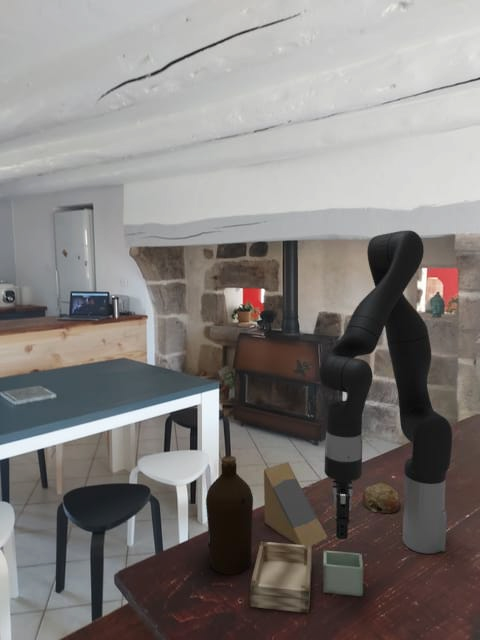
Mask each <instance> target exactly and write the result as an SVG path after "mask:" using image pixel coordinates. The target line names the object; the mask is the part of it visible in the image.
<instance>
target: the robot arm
mask: <svg viewBox="0 0 480 640" xmlns="http://www.w3.org/2000/svg"><path fill="white" fill-rule="evenodd" d="M424 248H425V247H424V243H423V240H422V237H421V236H420V235H419V234H418V233H417V232H415V231H413V230H407V229H406V230H399V231H394V232H388V233H383V234H380V235H379V234H378V235H376V236H373V237H372V238H371V239H370V240H369V242H368V245H367V262H368V267H369V271H370V272H371V276H372V280H373V283H374V288H373V289H372V290H371V291H370V292H369V293H367V295H366V296H365V297H364V298H363V299H362V300H361V301H360V302H359V303H358V305H357V306H356V307H355V309H354V310H353V313H352V315H351V317H350V319H349V321H348V323H347V326H346V328H345V330H344V332H343V334H342V336H341V337H340V338H339V339H338V340H337V341H336V343H335V344H334V345H333V347H331V348H330V350H329V351H328V352H327V353H326V355H325V356H324V358H323V359H322V361H321V364H320V366H319V371H318V378H319V380H320V381H319V382H320V383H321V385H322V386H323V387H325V388H327V389H328V390H332V391H338V392H342V393H347V397H346V399H345V400H335V401H332V402H330V404H329V405H328V406H327V407H326V408H327V409H326V410H327V411H326V432H325V433H326V434H325V438H324V439H325V440H324V441H325V442H324V474H325V475H326V476H327V477H328V479H332V494H333V509H335V512H336V513H335V517H334V518H335V522H336V528H335V529H336V531H335V534H336V535H335V536H336V538H337V539H338V540H348V536H349V535H348V530H349V529H348V528H349V527H348V526H349V524H350V523H351V522H350V520H351V519H350V511H351V509H352V496H353V493H354V492H353V491H354V490H353V489H354V488H353V482H355V481H357V480H359V479H360V478H361V477H362V473H363V472H362V471H363V468H362V467H363V437H362V431H363V430H362V429H363V428H362V427H363V425H362V424H363V413H364V408H365V405H366V401H367V399H368V394H369V391H370V390H371V386H372V383H373V369H372V367H371V365H370V364H369V363H368V362H367V361H366V360H364V359H362V358H356V357H359V356H367V355H370V354H372V353H373V352H374V351H375V350H376V348H377V346H378V343H379V341H380V338H381V337H382V336H381V335H382V334H383V331H384V329H385V336H386V342H387V347H388V352H389V357H390V361H391V365H392V371H393V377H394V381H395V385H396V388H397V389H396V390H397V397H398V405H399V406H398V409H399V411H398V412H399V422H400V427H401V432H402V433H403V435H404V437H405V438H406V439H407V440H408V441H409V442H410V443H411V444H412V454H411V455H412V456H411V458H409V459H407V460H406V461H405V462H404V473H403V475H404V476H403V477H404V478H403V479H404V480H403V481H404V482H403V507H402V508H403V509H402V510H403V511H402V514H403V515H402V542H403V544H404V545H405V546H406V547H407V548H409V549H411V550H412V551H414V552H417V553H420V554H426V555H427V554H428V555H429V554H436V553H439V552H440V553H441V552H446V540H447V511H446V509H445V508H446V507H445V506H446V505H445V503H446V498H445V497H446V478H447V473H448V471H449V468H450V465H451V456H452V448H453V447H452V444H453V430H452V426H451V424H450V422H449V420H448V419H446V417H444V416H443V415H441V414H440V413H438V412H436V410H434V408H433V406H432V401H431V399H430V396H429V395H430V394H429V390H428V377H429V373H430V367H431V363H432V348H431V341H430V336H429V331H428V326H427V324H426V322H425V321H424V319H423V318H422V316H421V315H420V314H419V312H418V311H417V310H416V309H415V308H414V306H413V305H412V303H410V302H409V300H408V299H407V298H406V296H405V294H404V292H405V290H406V289H407V288H408V286H409V284H410V283H411V280H412V279H413V277H414V275H415V274H416V273H417V271H418V269H419V267H420V266H421V264H422V262H423V261H422V260H423V259H424V254H425V252H424V251H425V249H424Z"/></svg>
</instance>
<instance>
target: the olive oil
mask: <svg viewBox="0 0 480 640" xmlns="http://www.w3.org/2000/svg"><path fill="white" fill-rule="evenodd" d="M220 466H221V473H220V475H219V476H218V477H217V478H216V479H215V480H214V481H213V482H212V484H211V485H210V486H209V487H208V491H207V494H206V497H205V506H206V507H205V509H206V519H207V530H208V531H207V533H208V548H209V563H210V566H211V568H212V569H213V570H214V571H215V572H217V573H219V574H222V575H228V576H230V575H237V574H238V575H239V574H241V573H243V572H244V571H247V570H248V569H249V567H250V566H251V563H252V538H253V537H252V536H253V535H252V533H253V508H254V496H253V495H254V494H253V492H252V489H251V487H250V486H249V484H248V483H247V481H245V480H244V478H242V477H241V476H240V475H239V474H238V473H237V458H236V457H235V456H233V455H225V456H222V458H221V465H220Z"/></svg>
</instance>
